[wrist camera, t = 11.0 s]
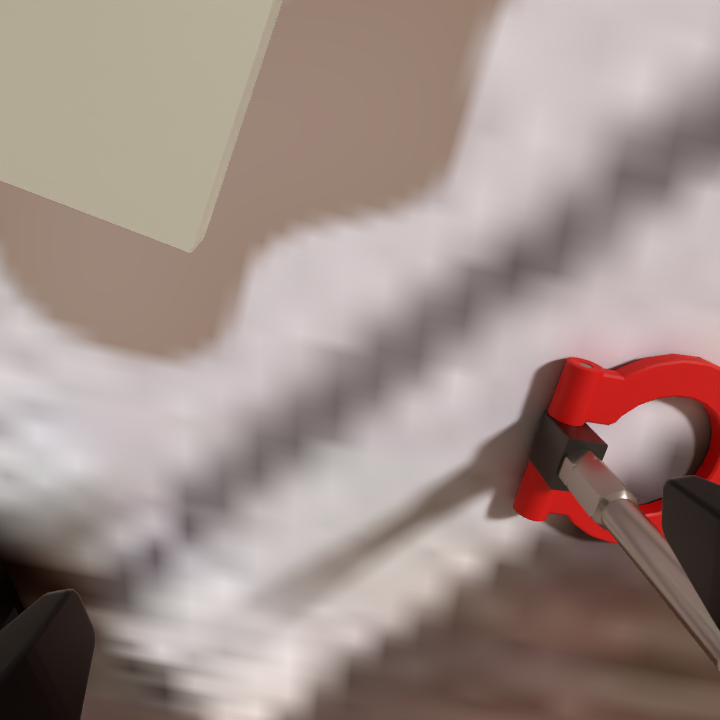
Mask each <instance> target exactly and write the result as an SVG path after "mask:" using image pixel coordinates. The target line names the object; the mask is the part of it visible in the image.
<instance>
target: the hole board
mask: <svg viewBox="0 0 720 720" xmlns="http://www.w3.org/2000/svg"><path fill="white" fill-rule="evenodd" d="M282 2H283V0H0V181H2V182H5V183H7V184H10V185H13V186H15V187H18V188H21V189H23V190H26V191H28V192H31V193H33V194H36V195H39V196H41V197H44V198H47V199H49V200H52V201H54V202H57V203H60V204H63V205H65V206H68V207H70V208H73V209H76V210H78V211H81V212H83V213H86V214H89V215H91V216H94V217H96V218H99V219H102V220H104V221H107V222H109V223H112V224H115V225H117V226H120V227H123V228H125V229H128V230H130V231H133V232H136V233H138V234H141V235H144V236H146V237H149V238H151V239H154V240H157V241H159V242H162V243H165V244H167V245H170V246H172V247H175V248H178V249H180V250H183V251H186V252H188V253H192V251H193V250H194V249H195V248H196V247H197V246H198V244H199V243H200V242H201V241H202V240H203V238H204V237H205V234H206V231H207V228H208V225H209V222H210V218H211V216H212V213H213V210H214V207H215V203H216V200H217V197H218V195H219V191H220V189H221V186H222V182H223V179H224V176H225V173H226V170H227V167H228V164H229V161H230V158H231V155H232V152H233V149H234V146H235V143H236V140H237V137H238V134H239V131H240V128H241V125H242V122H243V119H244V116H245V113H246V110H247V107H248V104H249V101H250V98H251V95H252V92H253V89H254V86H255V83H256V80H257V77H258V74H259V71H260V68H261V65H262V62H263V59H264V56H265V53H266V50H267V47H268V44H269V41H270V38H271V35H272V32H273V29H274V26H275V23H276V20H277V17H278V14H279V11H280V8H281V5H282Z"/></svg>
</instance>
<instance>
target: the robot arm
mask: <svg viewBox="0 0 720 720" xmlns="http://www.w3.org/2000/svg"><path fill="white" fill-rule="evenodd" d="M661 525H662V530H663V534H664V536H665V539H666V540H667V542H668V544H669V546H670V547H671V549H672V551H673V553H674V554H675V556H676V558H677V560H678V561H679V563H680V565H681V566H682V568H683V570H684V572H685V573H686V575H687V577H688V579H689V580H690V582H691V584H692V585H693V587H694V589H695V591H696V592H697V594H698V596H699V598H700V599H701V601H702V603H703V604H704V606H705V608H706V610H707V611H708V613H709V615H710V616H711V618H712V620H713V621H714V623H715V625H716V626H717V628H718V629H719V631H720V485H719V484H716V483H714V482H711V481H708V480H706V479H703V478H700V477H698V476H695V475H687V476H682V477H676V478H671V479H668V480H667V481H666V482H665V483H664V486H663V497H662V519H661ZM94 648H95V631H94V628H93V625H92V623H91V620H90V618H89V616H88V614H87V611H86V609H85V607H84V604H83V602H82V600H81V597H80V596H79V594H78V592H77V591H75V590H73V589H66V590H60V591H55V592H50V593H46V594H44V595H43V596H41V597H40V598H39V599H38V600H37V601H36V602H34V603H33V604H32V605H31V606H30V607H28V608H27V609H26V610H24V608H23V606H22V604H21V602H20V600H19V597H18V595H17V592H16V590H15V588H14V586H13V584H12V582H11V580H10V578H9V576H8V574H7V572H6V570H5V568H4V566H3V564H2V562H1V560H0V720H81V715H82V710H83V705H84V700H85V695H86V689H87V684H88V679H89V674H90V669H91V664H92V658H93V653H94Z"/></svg>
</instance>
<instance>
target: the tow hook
mask: <svg viewBox="0 0 720 720" xmlns="http://www.w3.org/2000/svg"><path fill="white" fill-rule="evenodd" d="M672 396H676V397H685V398H691V399H693V400H696V401H698V402H699V403H701V404H702V405H703V406H704V408H705V410H706V412H707V414H708V416H709V418H710V422H711V430H712V436H711V442H710V448H709V450H708V453H707V455H706V457H705V459H704V462H703V464H702V465H701V466H700V468H699V469H698V470H697V472H696V473H695V474H694V475H695V476H698V477H700V478H703V479H706V480H708V481H711V482H714V483H716V484H719V485H720V367H719V366H717V365H715V364H713V363H711V362H708V361H706V360H704V359H702V358H700V357H695V356H687V355H679V354H668V355H661V356H654V357H646V358H643V359H641V360H638V361H636V362H633V363H631V364H628V365H625V366H623V367H620V368H618V369H616V370H610V369H604V368H602V367H601V366H599V365H597V364H595V363H593V362H591V361H588V360H585V359H581V358H574V357H569V358H567V360H566V363H565V366H564V368H563V371H562V374H561V376H560V379H559V382H558V385H557V387H556V390H555V393H554V395H553V398H552V401H551V403H550V406H549V409H548V410H546V411H545V412H544V414H543V417H542V420H541V423H540V425H539V428H538V431H537V433H536V436H535V439H534V442H533V444H532V447H531V450H530V452H529V463H528V466H527V468H526V471H525V474H524V477H523V479H522V482H521V485H520V487H519V490H518V493H517V495H516V498H515V501H514V504H513V507H514V509H515V510H516V512H517V513H519V514H520V515H521V516H523V517H525V518H527V519H529V520H532V521H544V520H546V518H547V516H548V513H552V514H561V515H567V516H568V518H569V519H570V521H571V522H572V523H573V524H574V525H575V526H577V527H578V528H580V529H581V530H582V531H584V532H585V533H586V534H588V535H589V536H592V537H595V538H598V539H601V540H604V541H607V542H610V543H618V544H619V545H620V546H621V547H622V549H623V550H624V551H625V552H626V554H627V555H628V556H629V558H630V559H631V560H632V561H633V563H634V564H635V565H636V566H637V568H638V569H639V570H640V571H641V573H642V574H643V575H644V576H645V578H646V579H647V580H648V581H649V583H650V584H651V585H652V587H653V588H654V589H655V590H656V592H657V593H658V594H659V595H660V597H661V598H662V599H663V600H664V602H665V603H666V604H667V605H668V607H669V608H670V609H671V611H672V612H673V613H674V614H675V616H676V617H677V618H678V619H679V621H680V622H681V623H682V624H683V626H684V627H685V628H686V629H687V631H688V632H689V633H690V634H691V636H692V637H693V638H694V640H695V641H696V642H697V643H698V645H699V646H700V647H701V648H702V650H703V651H704V652H705V653H706V655H707V656H708V657H709V658H710V660H711V661H712V662H713V664H714V665H715V666H716V667H717V669H718V670H719V671H720V631H719V629H718V628H717V626H716V625H715V623H714V621H713V620H712V618H711V616H710V615H709V613H708V611H707V610H706V608H705V606H704V604H703V603H702V601H701V599H700V598H699V596H698V594H697V592H696V591H695V589H694V587H693V585H692V584H691V582H690V580H689V579H688V577H687V575H686V573H685V572H684V570H683V568H682V566H681V565H680V563H679V561H678V560H677V558H676V556H675V554H674V553H673V551H672V549H671V547H670V546H669V544H668V542H667V540H666V539H665V536H664V534H663V530H662V525H661V519H662V499H660V500H658V501H655V502H652V503H650V504H644V505H639V500H638V499H637V498H636V497H635V496H634V495H633V494H632V492H631V491H630V490H629V489H628V488H627V487H626V486H625V485H624V484H623V483H622V482H621V481H620V480H619V479H618V477H617V476H616V475H615V474H614V473H613V472H612V471H611V470H610V469H609V468H608V467H607V466H606V465H605V464H604V462H603V461H602V460H603V457H604V455H605V452H606V450H607V447H608V445H607V444H606V443H605V442H604V441H603V440H602V439H601V438H600V437H599V436H598V435H597V434H596V433H595V432H594V431H593V430H592V429H591V428H590V427H589V426H588V425H587V424H586V423H585V422H591V423H597V424H604V425H610V424H612V423H615V422H616V421H617V420H618V419H619V418H620V417H621V416H623V415H624V414H626V413H627V412H629V411H631V410H632V409H634V408H635V407H637V406H638V405H641V404H644V403H646V402H649V401H651V400H654V399H658V398H665V397H672Z"/></svg>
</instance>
